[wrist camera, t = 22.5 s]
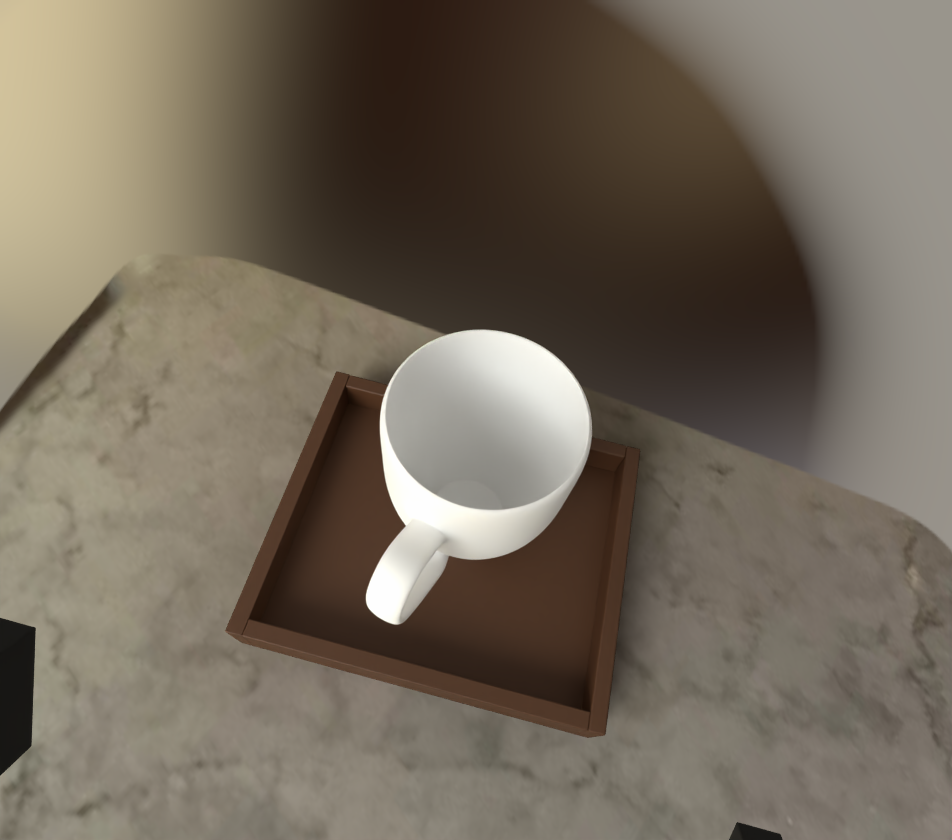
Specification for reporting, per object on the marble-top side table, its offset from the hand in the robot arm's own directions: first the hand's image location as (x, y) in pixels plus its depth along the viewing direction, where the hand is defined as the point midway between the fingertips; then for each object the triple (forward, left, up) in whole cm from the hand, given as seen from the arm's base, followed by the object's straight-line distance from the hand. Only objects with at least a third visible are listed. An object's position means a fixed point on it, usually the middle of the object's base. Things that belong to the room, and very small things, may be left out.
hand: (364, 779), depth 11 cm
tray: (0, -11, -20) cm, 22 cm away
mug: (0, -11, -19) cm, 22 cm away
